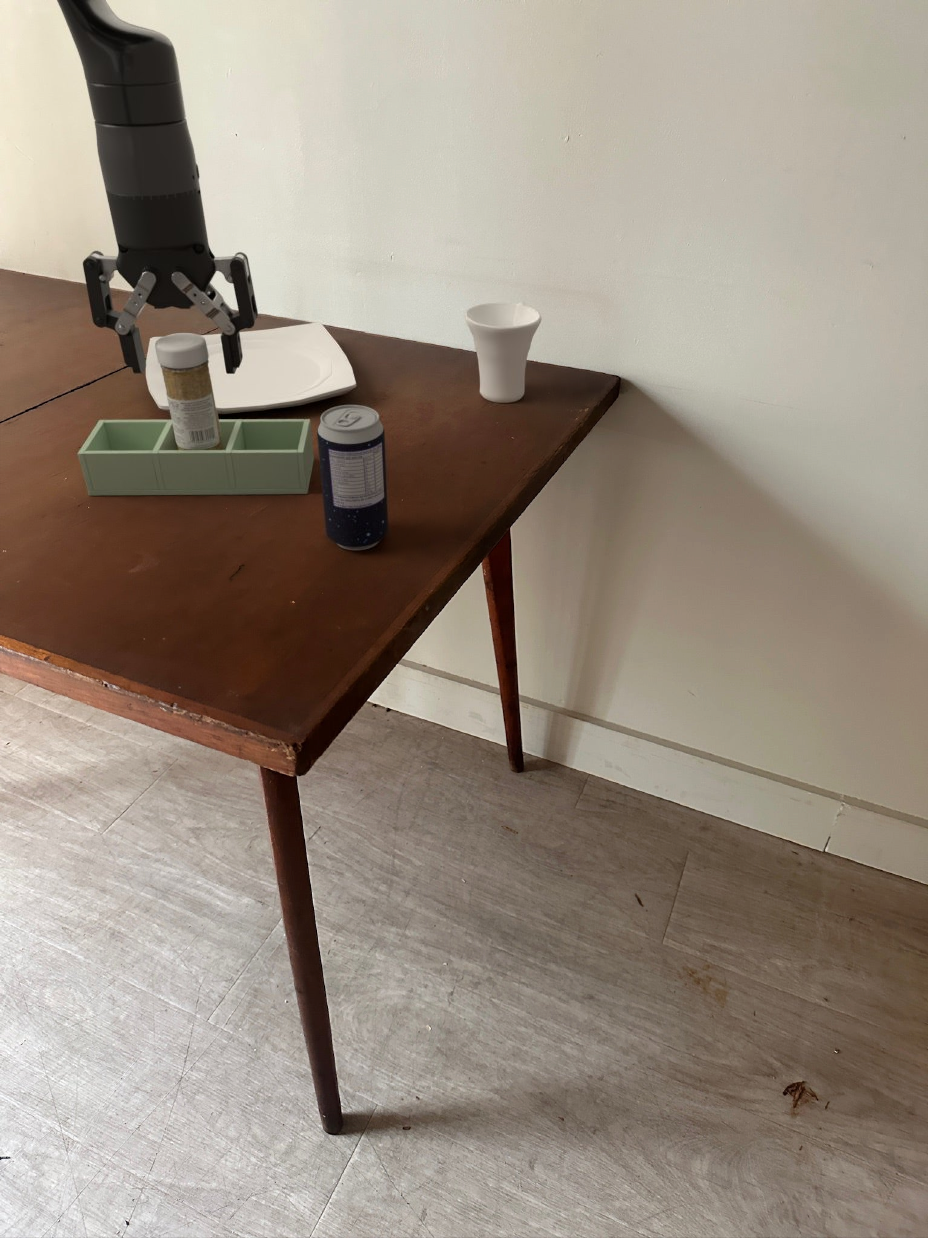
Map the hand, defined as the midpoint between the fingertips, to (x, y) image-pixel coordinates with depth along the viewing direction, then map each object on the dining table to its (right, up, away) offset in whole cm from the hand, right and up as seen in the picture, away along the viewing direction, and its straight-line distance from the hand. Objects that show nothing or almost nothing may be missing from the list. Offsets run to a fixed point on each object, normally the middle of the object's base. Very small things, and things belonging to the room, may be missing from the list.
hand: (186, 370), depth 81 cm
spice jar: (0, -8, +6) cm, 11 cm away
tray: (0, -9, +7) cm, 11 cm away
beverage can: (+16, -16, -2) cm, 23 cm away
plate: (0, +6, +27) cm, 27 cm away
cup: (+31, +4, +25) cm, 40 cm away
